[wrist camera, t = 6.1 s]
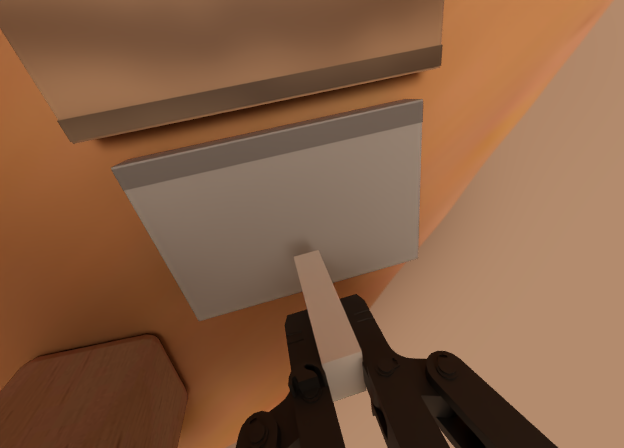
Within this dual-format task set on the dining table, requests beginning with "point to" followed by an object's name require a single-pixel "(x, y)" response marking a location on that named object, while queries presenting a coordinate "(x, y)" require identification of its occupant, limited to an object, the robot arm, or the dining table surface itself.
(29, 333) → the dining table surface
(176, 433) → the wooden block
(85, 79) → the board
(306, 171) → the plank
